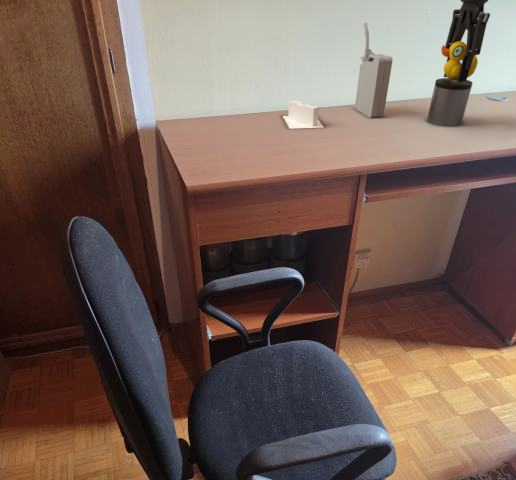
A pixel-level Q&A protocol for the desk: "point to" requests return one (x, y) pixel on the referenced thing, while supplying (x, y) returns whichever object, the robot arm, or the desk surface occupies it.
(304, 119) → the napkin holder
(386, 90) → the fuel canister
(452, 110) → the jar
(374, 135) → the desk surface
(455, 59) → the duckling
